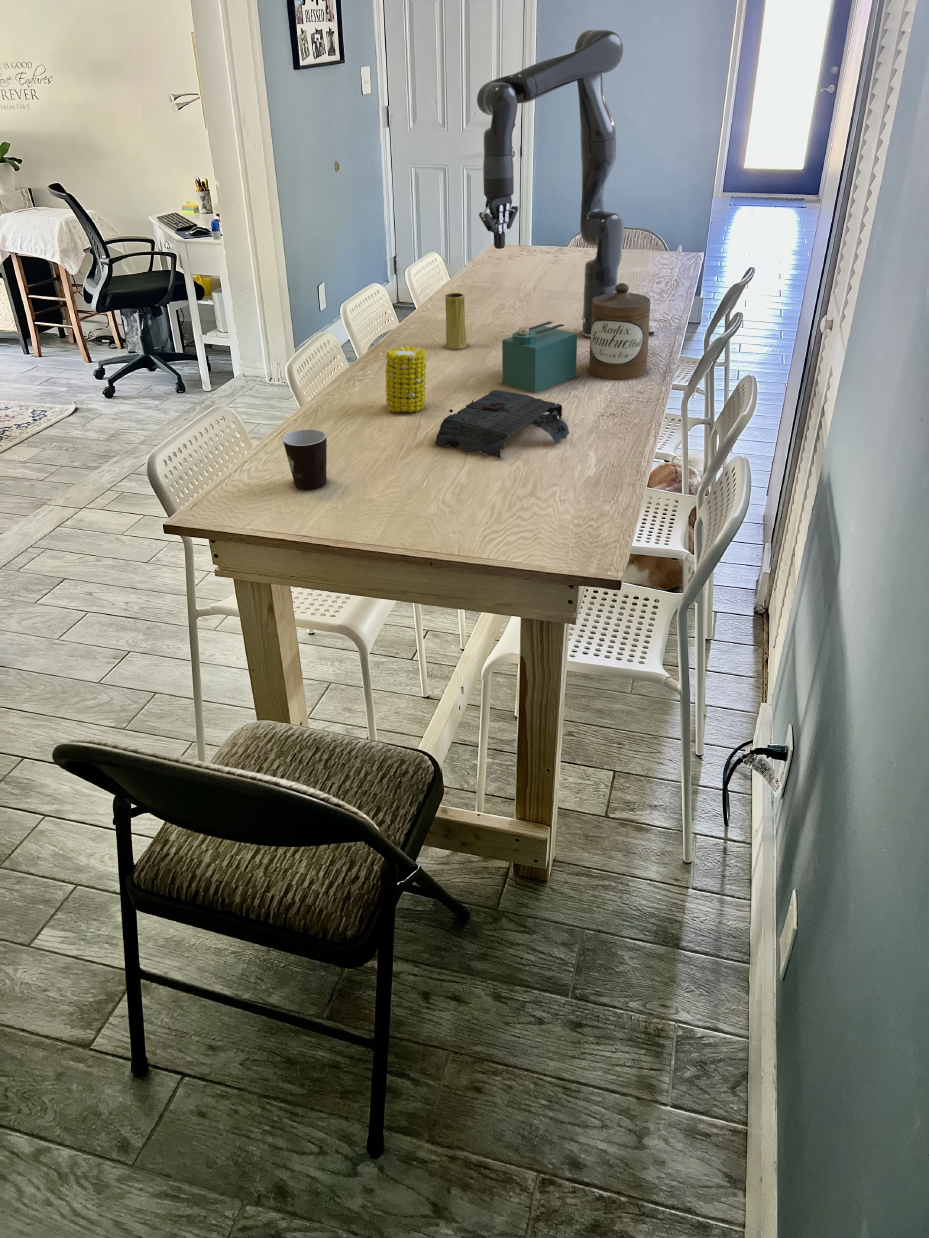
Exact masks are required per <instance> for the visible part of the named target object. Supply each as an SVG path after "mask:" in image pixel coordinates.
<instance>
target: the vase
mask: <svg viewBox="0 0 929 1238" xmlns="http://www.w3.org/2000/svg"><path fill="white" fill-rule="evenodd" d="M444 299H445V300H444V301H445V302H444V303H445V348H447V349H449V350H462V349H466V348H467V347H468V341H467V331H466V308H465V305H466V304H465V294H464V293H461V292H450V293H447V294H445V297H444Z"/></svg>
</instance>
